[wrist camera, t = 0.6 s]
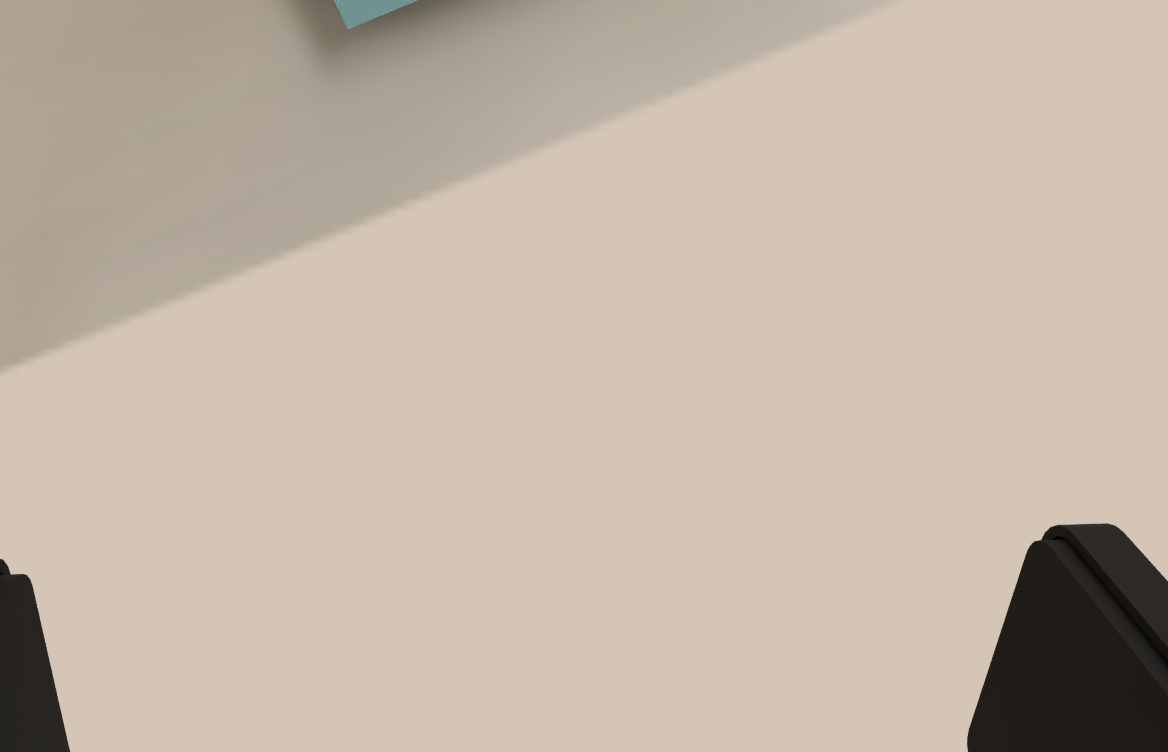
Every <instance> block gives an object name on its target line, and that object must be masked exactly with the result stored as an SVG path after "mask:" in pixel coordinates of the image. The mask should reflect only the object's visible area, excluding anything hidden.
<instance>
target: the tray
mask: <svg viewBox="0 0 1168 752" xmlns="http://www.w3.org/2000/svg"><path fill="white" fill-rule="evenodd" d="M415 1H418V0H334V2H335V4H336V6H337V8H338V10H339V12H340V14H341V16H342V19H343V21H344V23H345V25H346V27H347V29H351V28H353V27H355V26H358V25H360V24H363V23H365V22H367V21H370V20H372V19H375V18H377V17H379V16H382V15H384V14H387V13H389V12H391V11H394V10H396V9H399V8H401V7H403V6H406V5H408V4H410V3H413V2H415Z"/></svg>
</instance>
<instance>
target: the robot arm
mask: <svg viewBox="0 0 1168 752" xmlns="http://www.w3.org/2000/svg"><path fill="white" fill-rule="evenodd" d="M967 747H968V752H1168V581H1167V580H1166V579H1165V578H1164V577H1163V576H1162V575H1161V573H1160V572H1159V571H1158V570H1157V569H1156V568H1155V567H1154V566H1153V564H1151V562H1150V561H1149V560H1148V559H1147V558H1146V557H1145V556H1144V554H1143V553H1142V552H1141V551H1140V550H1139V549H1138V548H1137V547H1136V546H1135V545H1134V543H1133V542H1132V541H1131V540H1130V539H1129V538H1128V537H1127V536H1126V534H1124V532H1123V531H1121V530H1120V529H1119V528H1118V527H1116V526H1114V525H1111V524H1079V525H1078V524H1077V525H1057V526H1053V527H1051V528H1049V530H1047V531H1046V532H1045V534H1044V536H1043V538H1042V540H1040V541H1035V542H1033V543H1032V544H1031V546H1030V547H1029V549H1028V551H1027V554H1026V556H1025V560H1024V562H1023V565H1022V569H1021V572H1020V575H1019V578H1018V581H1017V584H1016V587H1015V590H1014V593H1013V596H1012V599H1011V602H1010V605H1009V608H1008V611H1007V614H1006V618H1005V621H1004V624H1003V627H1002V630H1001V633H1000V636H999V639H998V642H997V645H996V648H995V651H994V655H993V657H992V661H991V663H990V667H989V670H988V673H987V676H986V679H985V682H984V685H983V688H982V691H981V694H980V697H979V700H978V703H977V707H976V709H975V713H974V716H973V719H972V722H971V725H970V728H969V732H968V737H967ZM0 752H70V749H69V745H68V741H67V736H66V732H65V728H64V723H63V719H62V714H61V710H60V706H59V701H58V697H57V692H56V688H55V683H54V679H53V674H52V670H51V666H50V661H49V657H48V653H47V648H46V643H45V639H44V635H43V630H42V626H41V621H40V617H39V612H38V608H37V604H36V599H35V595H34V590H33V586H32V583H31V580H30V579H29V577H28V576H27V575H24V574H16V575H15V574H14V575H11V574H10V571H9V568H8V566H7V564H6V563H5V562H4V560H2V559H0Z"/></svg>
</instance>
